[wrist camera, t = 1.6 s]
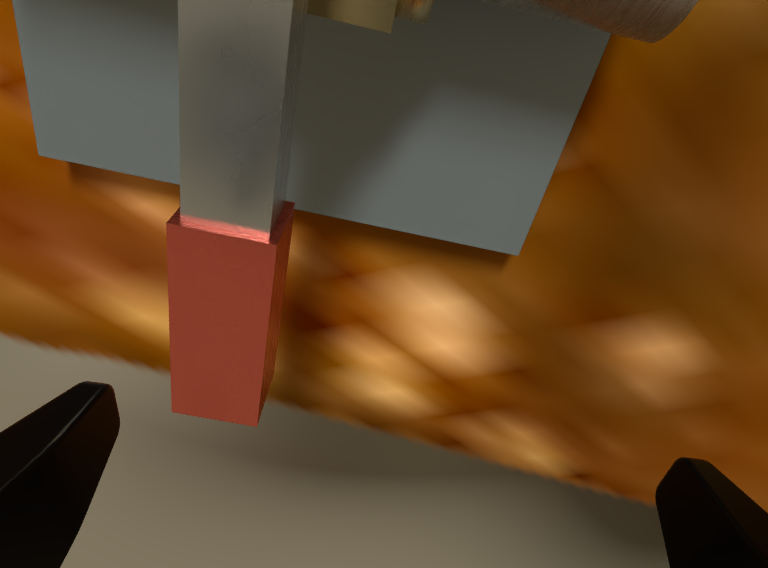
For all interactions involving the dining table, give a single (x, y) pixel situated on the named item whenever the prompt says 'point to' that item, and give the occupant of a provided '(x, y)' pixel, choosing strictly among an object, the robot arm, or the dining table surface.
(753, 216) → the dining table surface
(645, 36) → the valve body
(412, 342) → the dining table surface
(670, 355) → the dining table surface
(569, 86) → the valve board
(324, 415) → the dining table surface
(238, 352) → the valve lever
